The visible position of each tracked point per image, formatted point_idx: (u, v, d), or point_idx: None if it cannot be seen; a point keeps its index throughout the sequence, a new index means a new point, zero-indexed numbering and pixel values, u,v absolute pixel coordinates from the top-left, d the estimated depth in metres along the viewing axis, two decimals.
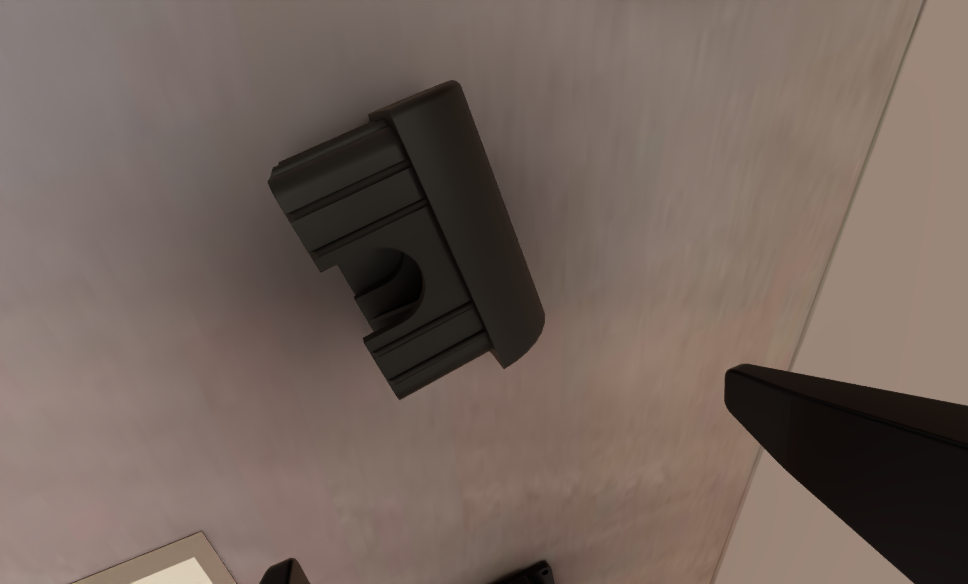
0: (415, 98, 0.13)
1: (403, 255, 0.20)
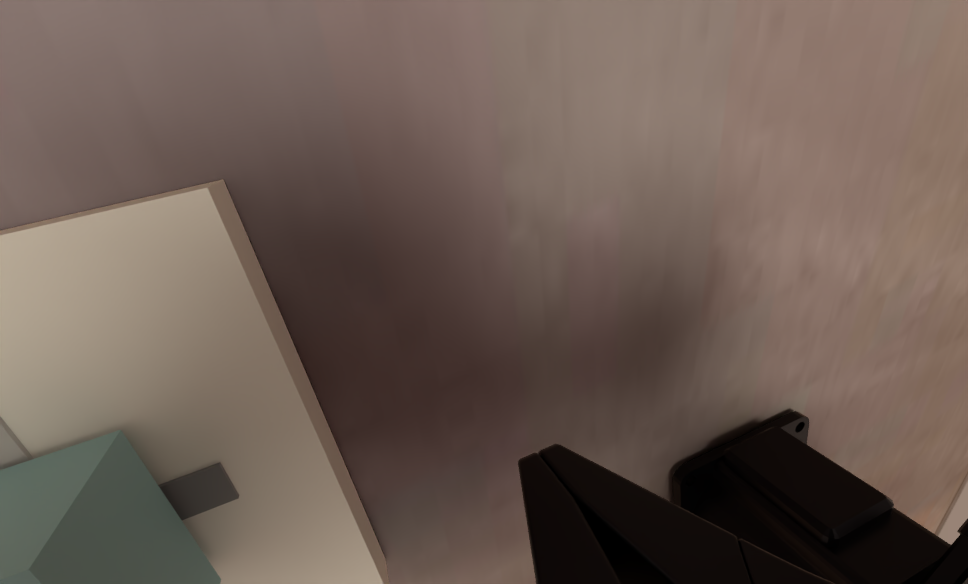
0: None
1: None
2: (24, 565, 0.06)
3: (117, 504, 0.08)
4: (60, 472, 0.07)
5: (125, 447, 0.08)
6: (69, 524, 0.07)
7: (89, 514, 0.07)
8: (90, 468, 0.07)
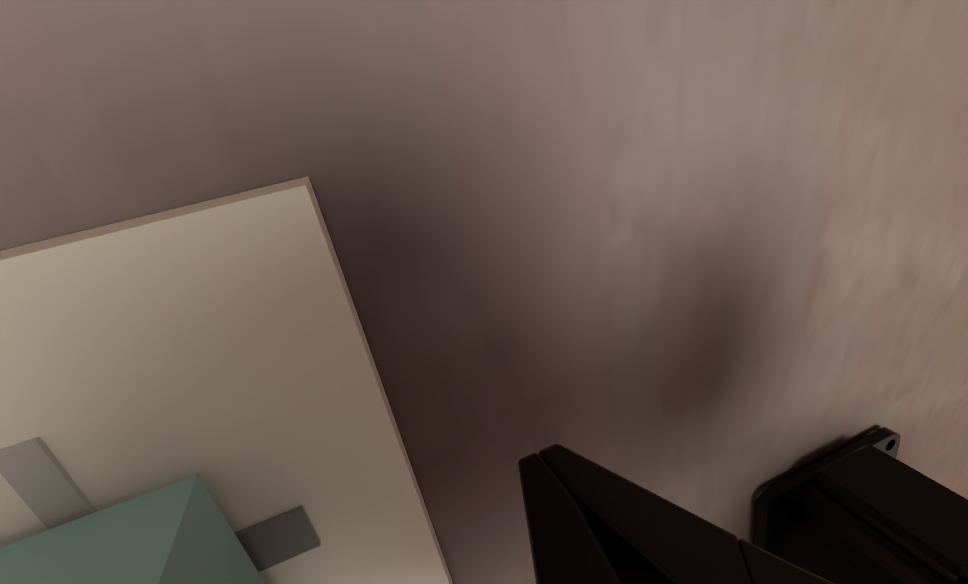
0: None
1: None
2: None
3: (202, 569, 0.06)
4: (134, 532, 0.06)
5: (203, 495, 0.07)
6: None
7: None
8: (172, 527, 0.06)
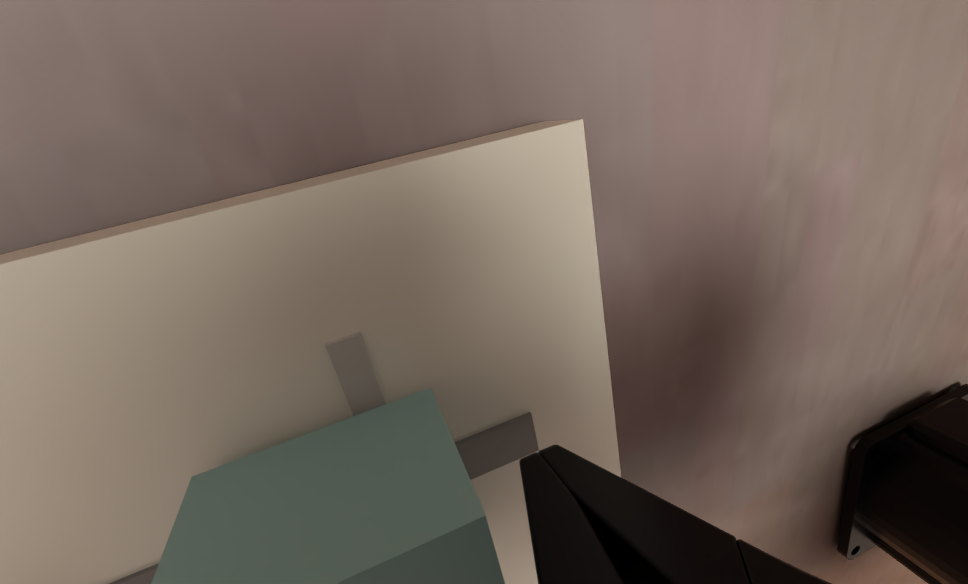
0: None
1: None
2: (474, 510, 0.05)
3: None
4: (404, 427, 0.07)
5: None
6: (466, 475, 0.06)
7: None
8: (439, 421, 0.07)
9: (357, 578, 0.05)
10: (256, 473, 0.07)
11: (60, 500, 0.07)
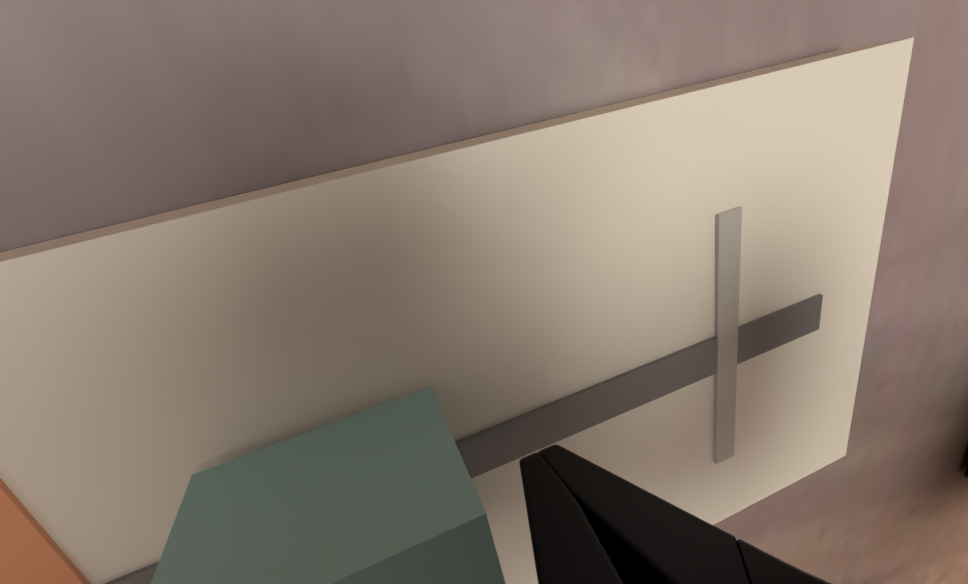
0: None
1: None
2: (474, 509, 0.05)
3: None
4: (404, 426, 0.07)
5: None
6: (467, 473, 0.06)
7: None
8: (439, 420, 0.07)
9: (357, 576, 0.05)
10: (256, 471, 0.07)
11: (532, 328, 0.09)
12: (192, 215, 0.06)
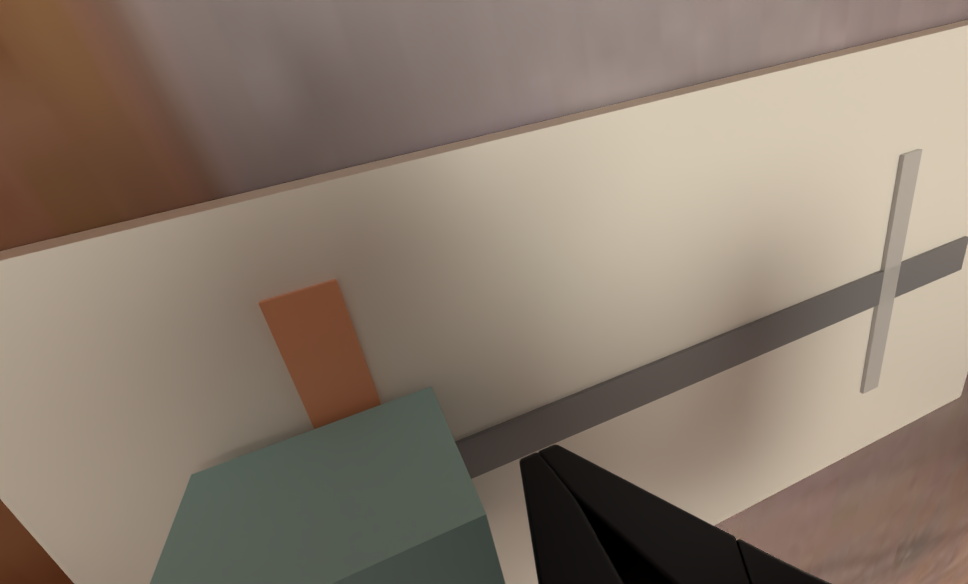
0: None
1: None
2: (474, 510, 0.05)
3: None
4: (405, 425, 0.07)
5: None
6: (467, 473, 0.06)
7: None
8: (439, 420, 0.07)
9: (357, 577, 0.05)
10: (256, 471, 0.07)
11: (750, 251, 0.10)
12: (536, 130, 0.08)
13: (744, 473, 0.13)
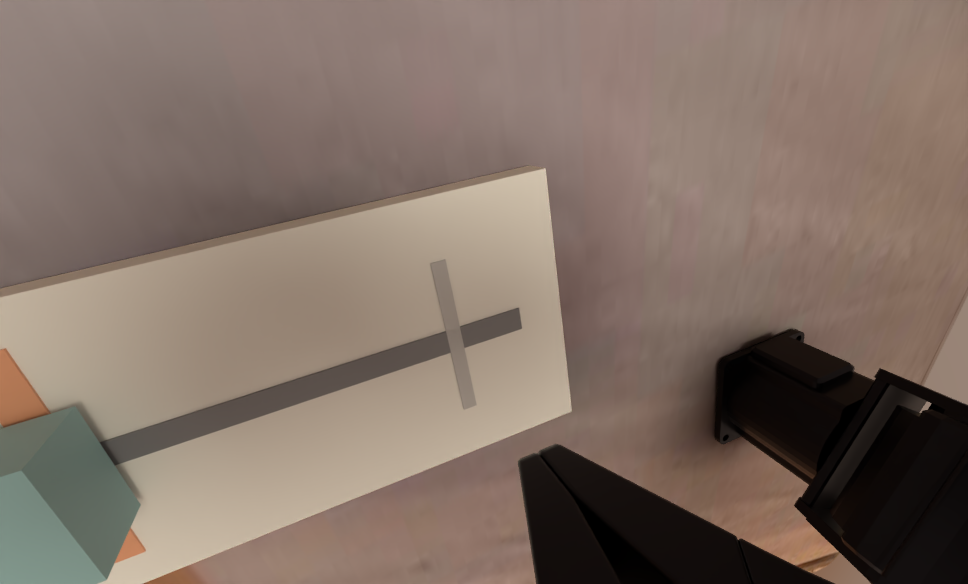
0: None
1: None
2: (18, 469, 0.12)
3: (70, 447, 0.13)
4: (38, 428, 0.13)
5: (77, 416, 0.14)
6: (42, 453, 0.12)
7: (54, 450, 0.13)
8: (56, 426, 0.13)
9: None
10: None
11: (320, 323, 0.16)
12: (128, 267, 0.14)
13: (374, 462, 0.19)
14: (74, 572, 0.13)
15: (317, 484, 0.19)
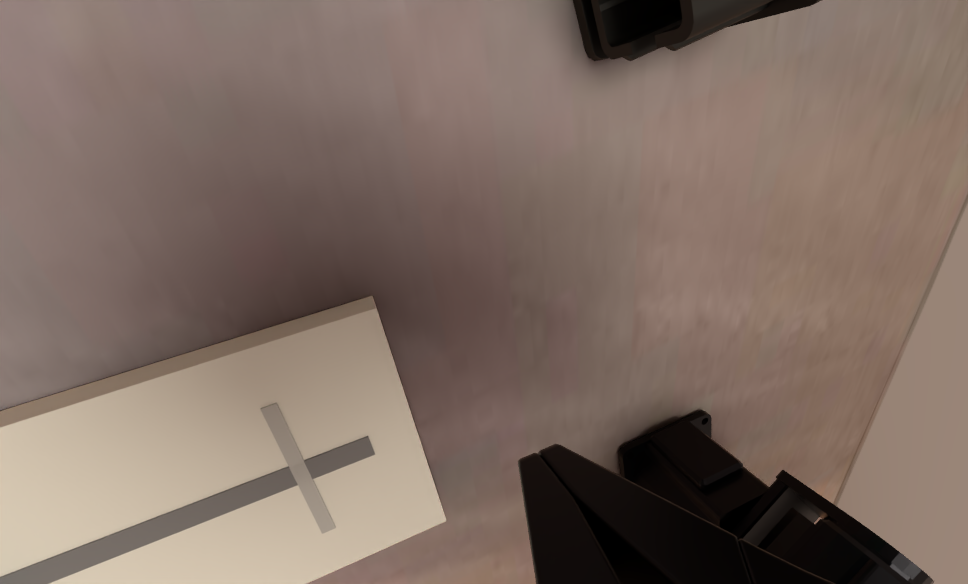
0: None
1: None
2: None
3: None
4: None
5: None
6: None
7: None
8: None
9: None
10: None
11: (147, 475, 0.17)
12: None
13: None
14: None
15: None
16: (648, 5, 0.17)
